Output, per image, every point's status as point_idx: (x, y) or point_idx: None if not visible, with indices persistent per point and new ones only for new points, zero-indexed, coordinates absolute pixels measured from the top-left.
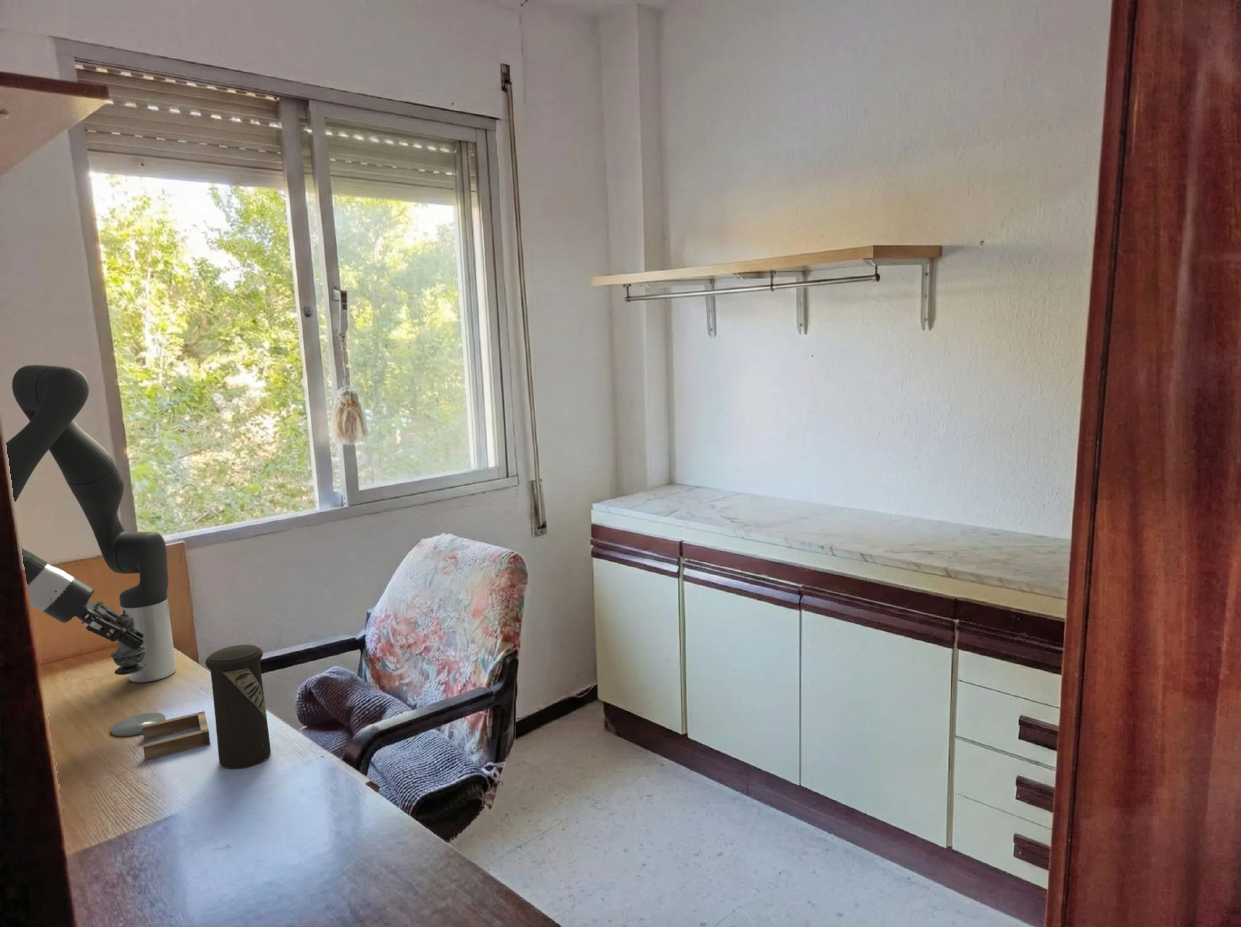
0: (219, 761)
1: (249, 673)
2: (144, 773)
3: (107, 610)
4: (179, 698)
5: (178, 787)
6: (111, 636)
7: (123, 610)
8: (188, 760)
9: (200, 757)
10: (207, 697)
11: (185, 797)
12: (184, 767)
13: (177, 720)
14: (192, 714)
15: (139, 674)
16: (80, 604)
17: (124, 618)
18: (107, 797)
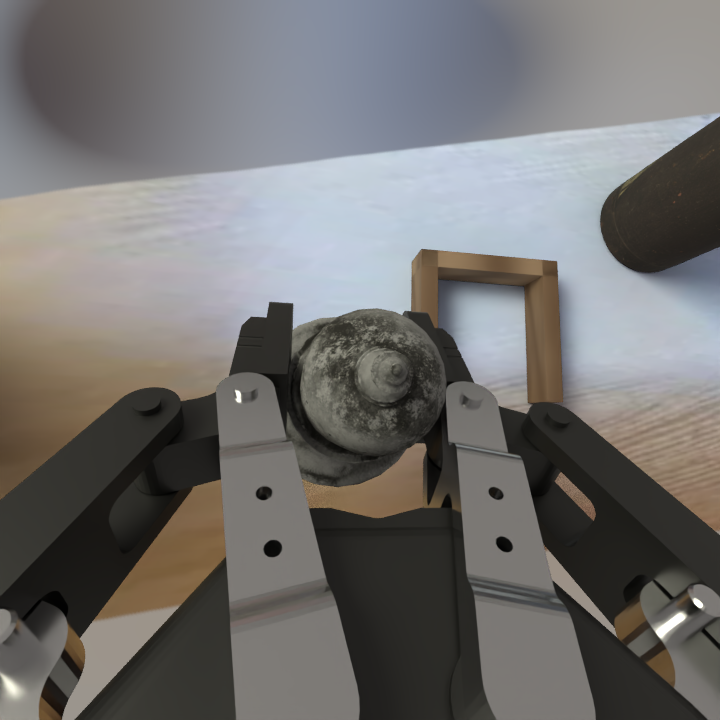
0: (654, 270)
1: None
2: (603, 407)
3: (318, 560)
4: (171, 293)
5: (696, 353)
6: (550, 488)
7: (399, 374)
8: (591, 322)
9: (590, 300)
10: (223, 228)
11: None
12: (619, 333)
13: (437, 315)
14: (426, 277)
15: None
16: None
17: (443, 382)
18: (670, 476)
